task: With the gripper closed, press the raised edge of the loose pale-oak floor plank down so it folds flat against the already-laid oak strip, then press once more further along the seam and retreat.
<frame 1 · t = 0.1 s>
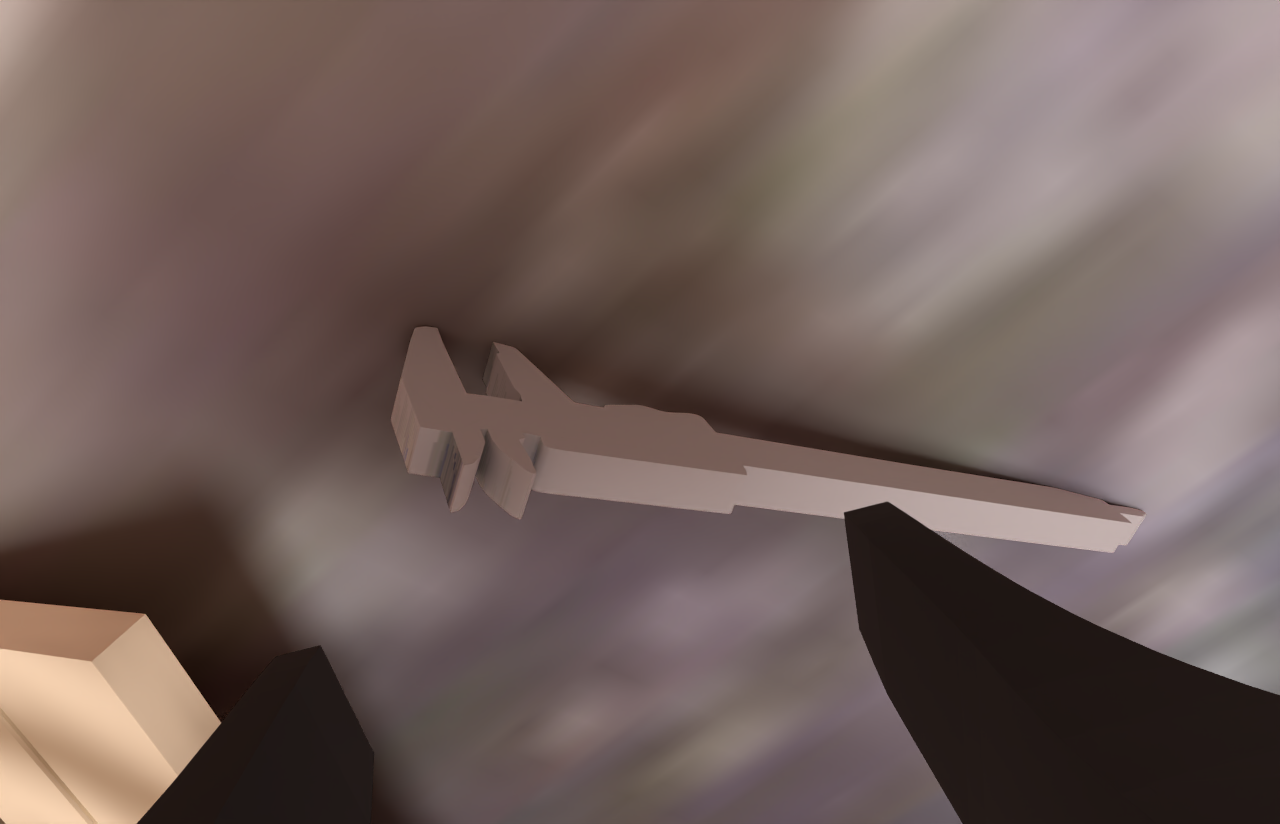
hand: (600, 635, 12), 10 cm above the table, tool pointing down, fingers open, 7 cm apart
caliper: (806, 434, 23), on the table
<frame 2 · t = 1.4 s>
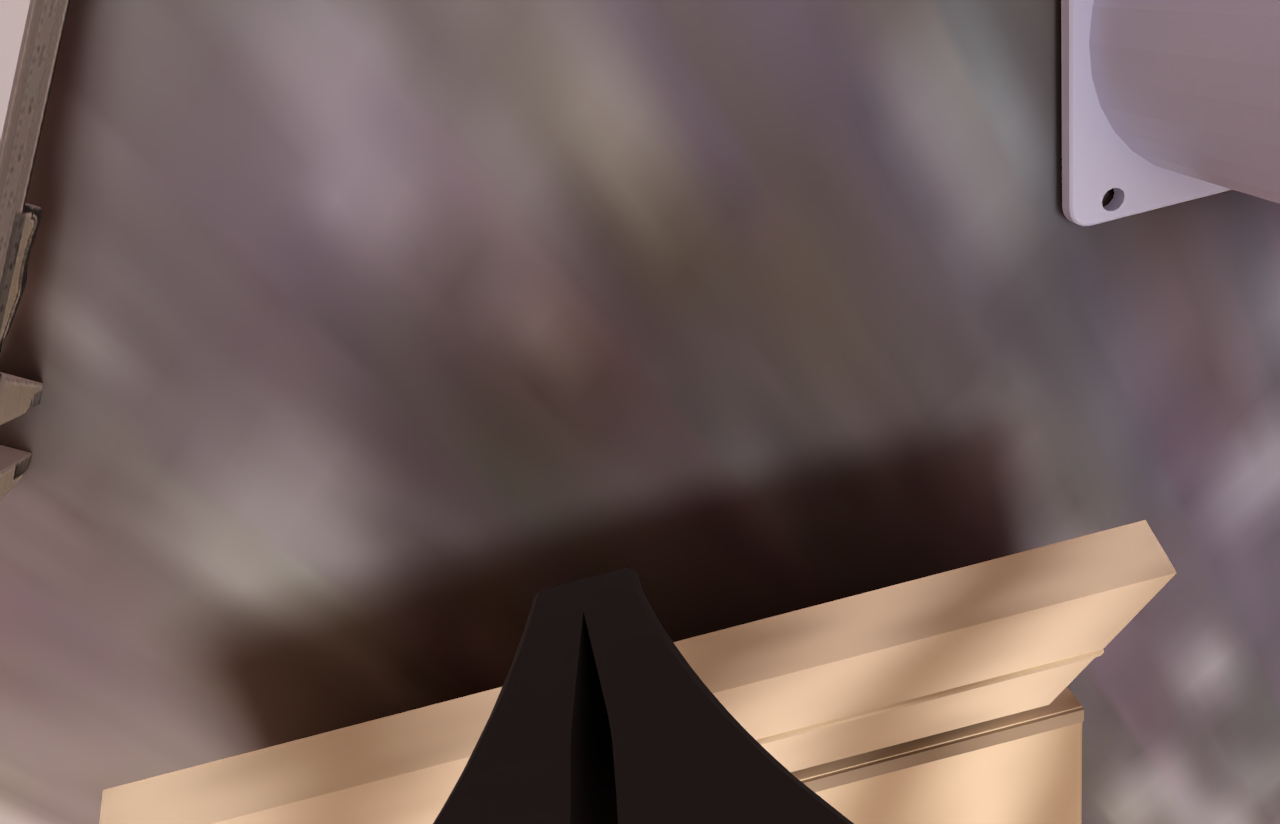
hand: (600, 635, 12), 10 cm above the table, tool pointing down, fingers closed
loose plank: (661, 741, 22), point 3 cm above the table, hinge at 30.0°
caliper: (80, 7, 17), on the table
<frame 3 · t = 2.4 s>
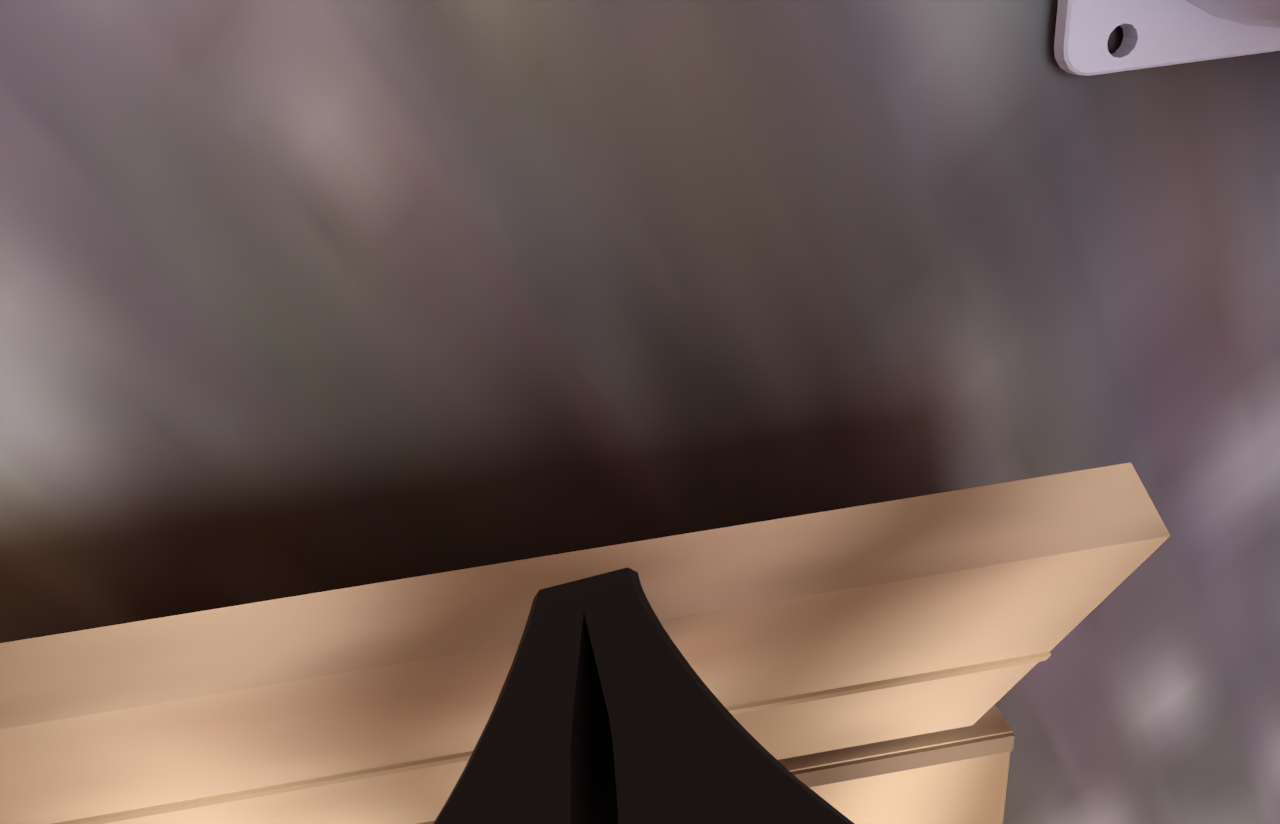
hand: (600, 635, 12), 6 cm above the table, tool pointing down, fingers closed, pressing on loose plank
loose plank: (451, 724, 16), point 3 cm above the table, hinge at 30.0°, touching gripper
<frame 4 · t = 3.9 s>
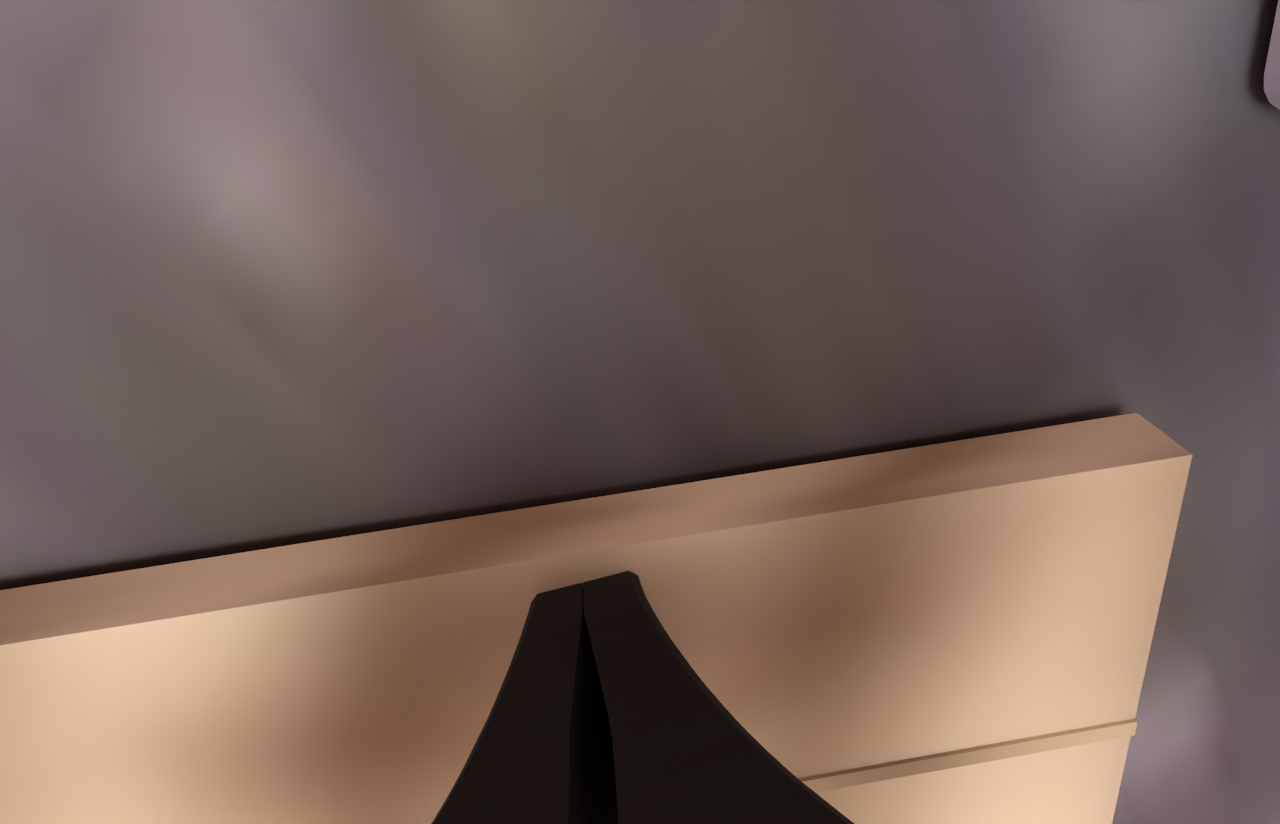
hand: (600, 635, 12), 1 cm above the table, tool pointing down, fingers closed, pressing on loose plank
loose plank: (437, 817, 14), point 1 cm above the table, hinge at 1.7°, touching gripper
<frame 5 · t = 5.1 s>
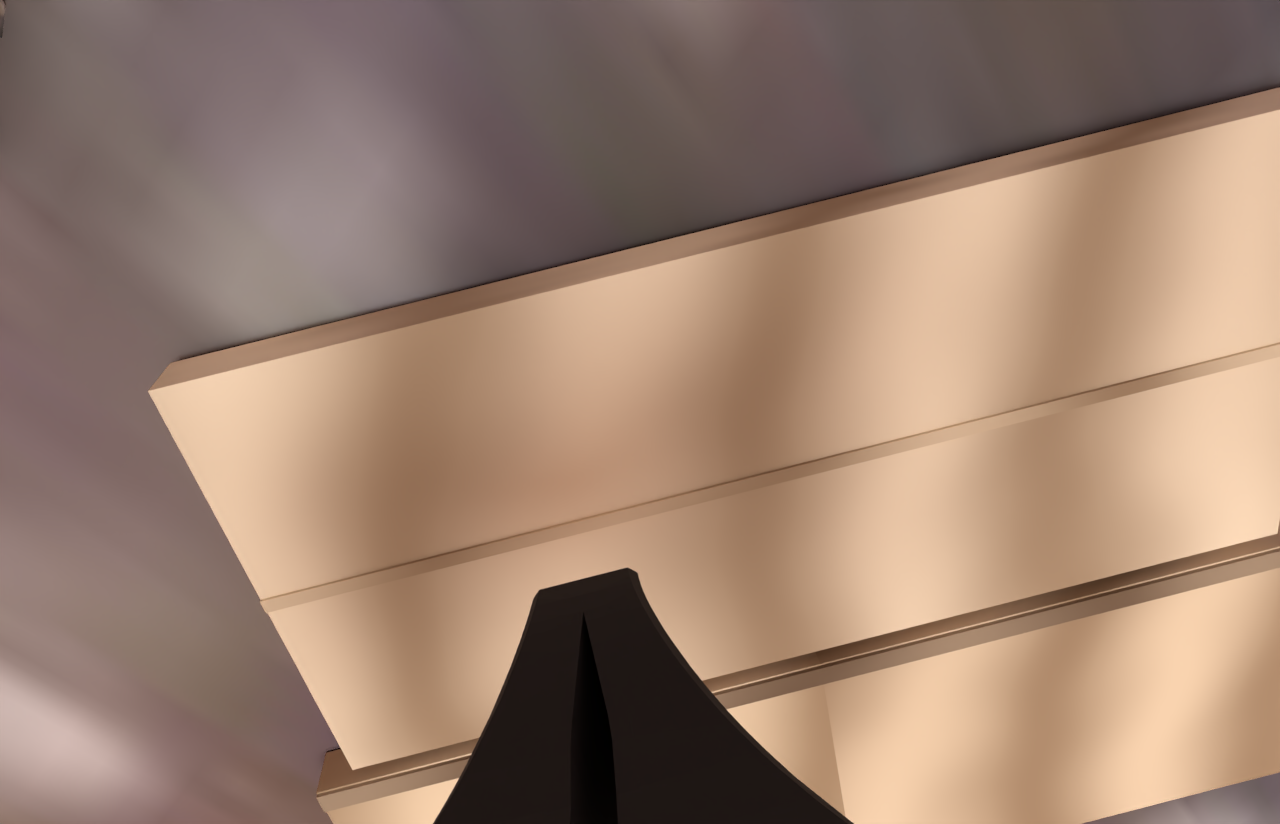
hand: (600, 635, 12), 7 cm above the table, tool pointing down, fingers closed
laid strip: (825, 745, 24), on the table
loose plank: (783, 458, 19), point 1 cm above the table, hinge at 1.7°
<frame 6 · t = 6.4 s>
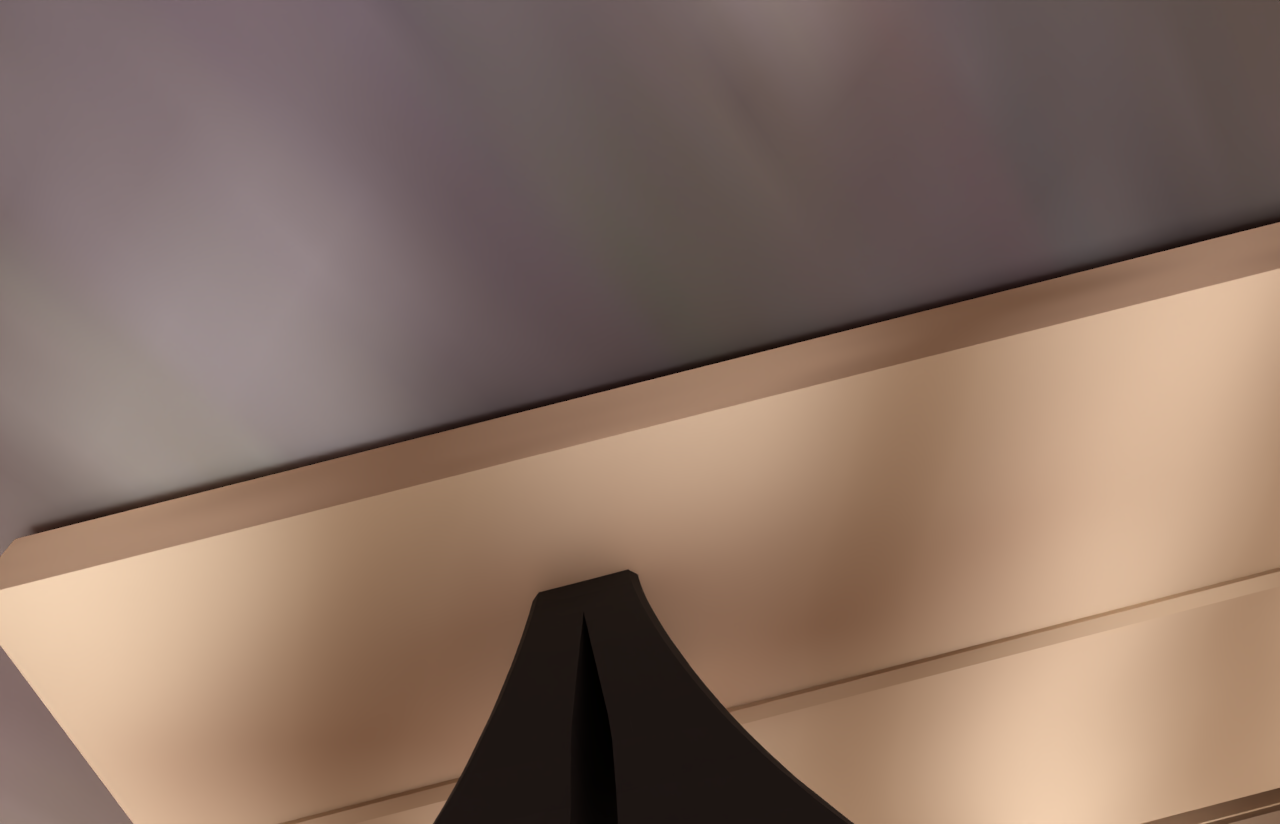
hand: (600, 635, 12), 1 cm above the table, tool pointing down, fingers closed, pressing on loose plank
loose plank: (886, 645, 14), point 1 cm above the table, hinge at 1.7°, touching gripper
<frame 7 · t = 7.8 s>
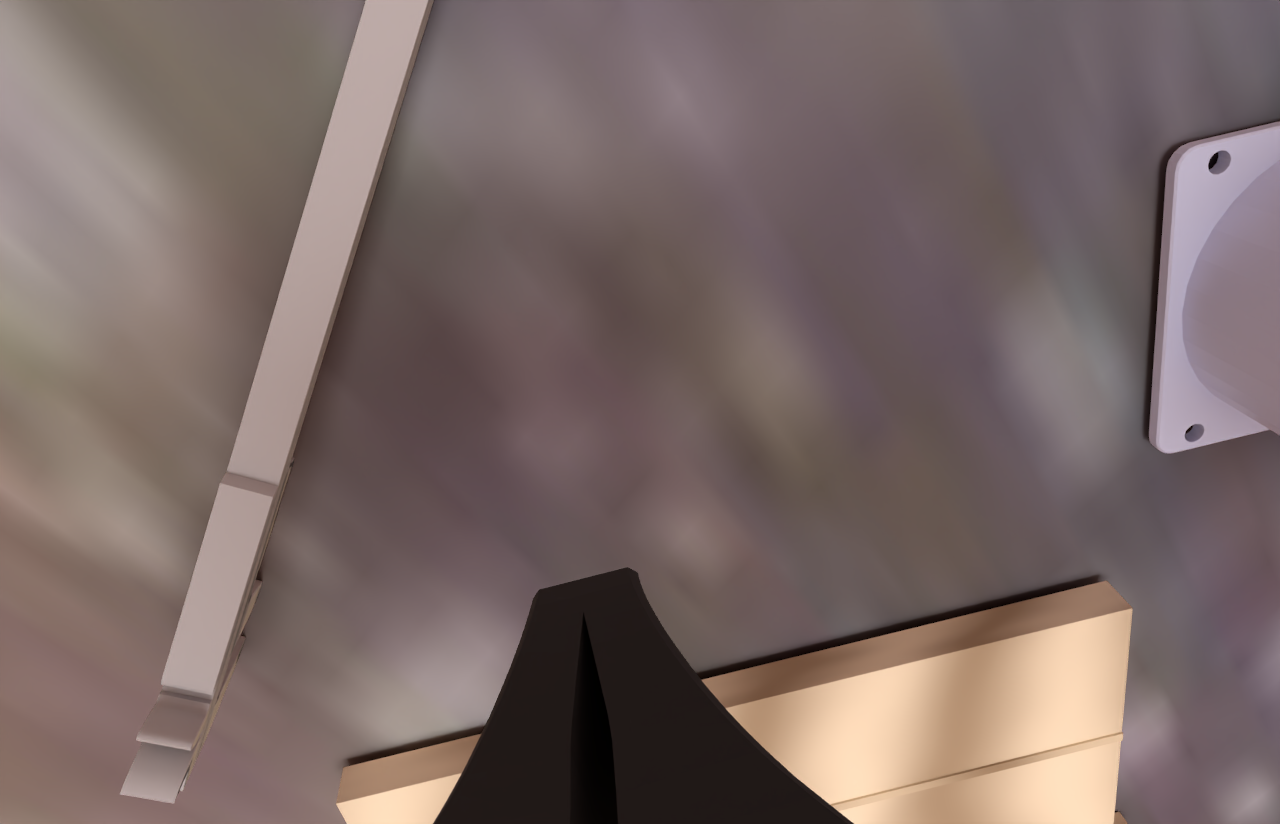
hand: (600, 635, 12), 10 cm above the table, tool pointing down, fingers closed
loose plank: (757, 808, 27), point 1 cm above the table, hinge at 1.7°
caliper: (327, 283, 20), on the table
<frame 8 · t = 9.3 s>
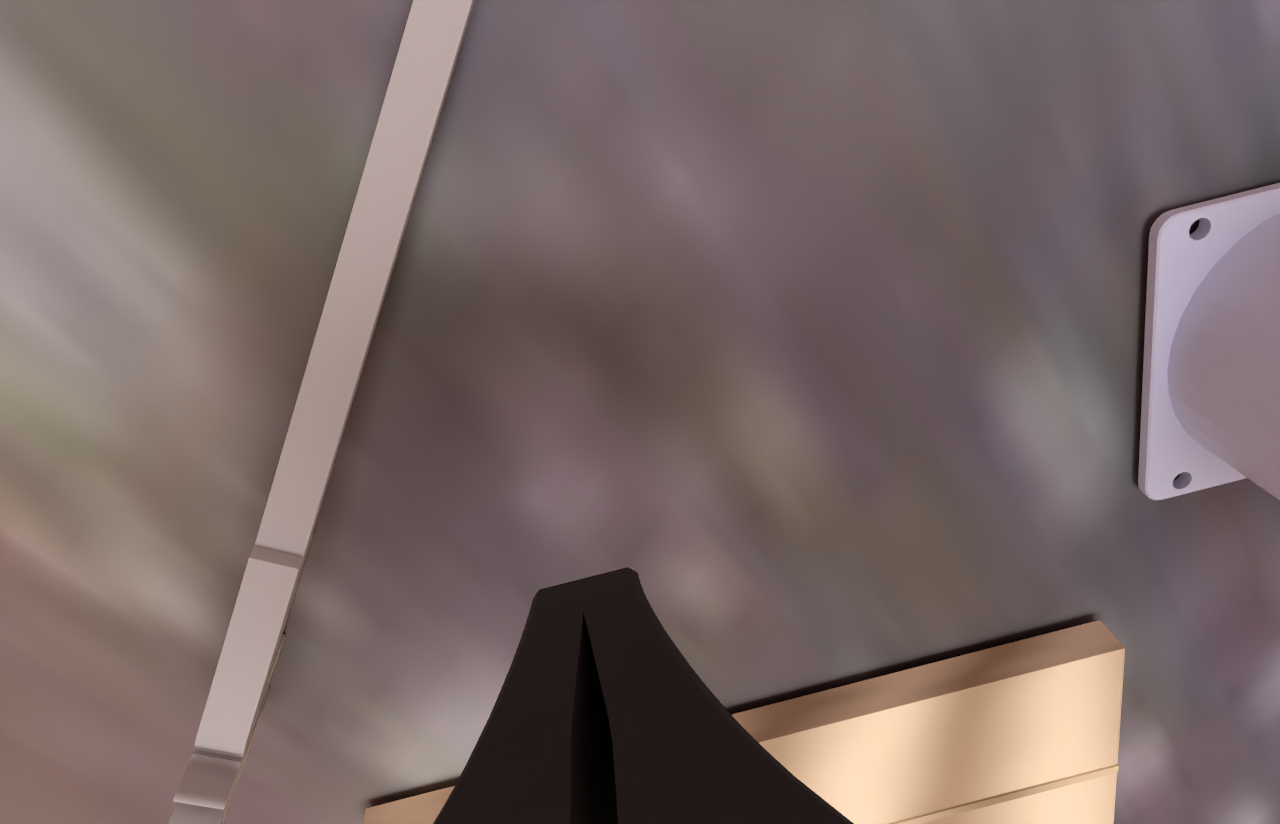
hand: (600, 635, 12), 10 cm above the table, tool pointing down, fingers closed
caliper: (346, 355, 21), on the table
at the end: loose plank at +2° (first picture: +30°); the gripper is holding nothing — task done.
